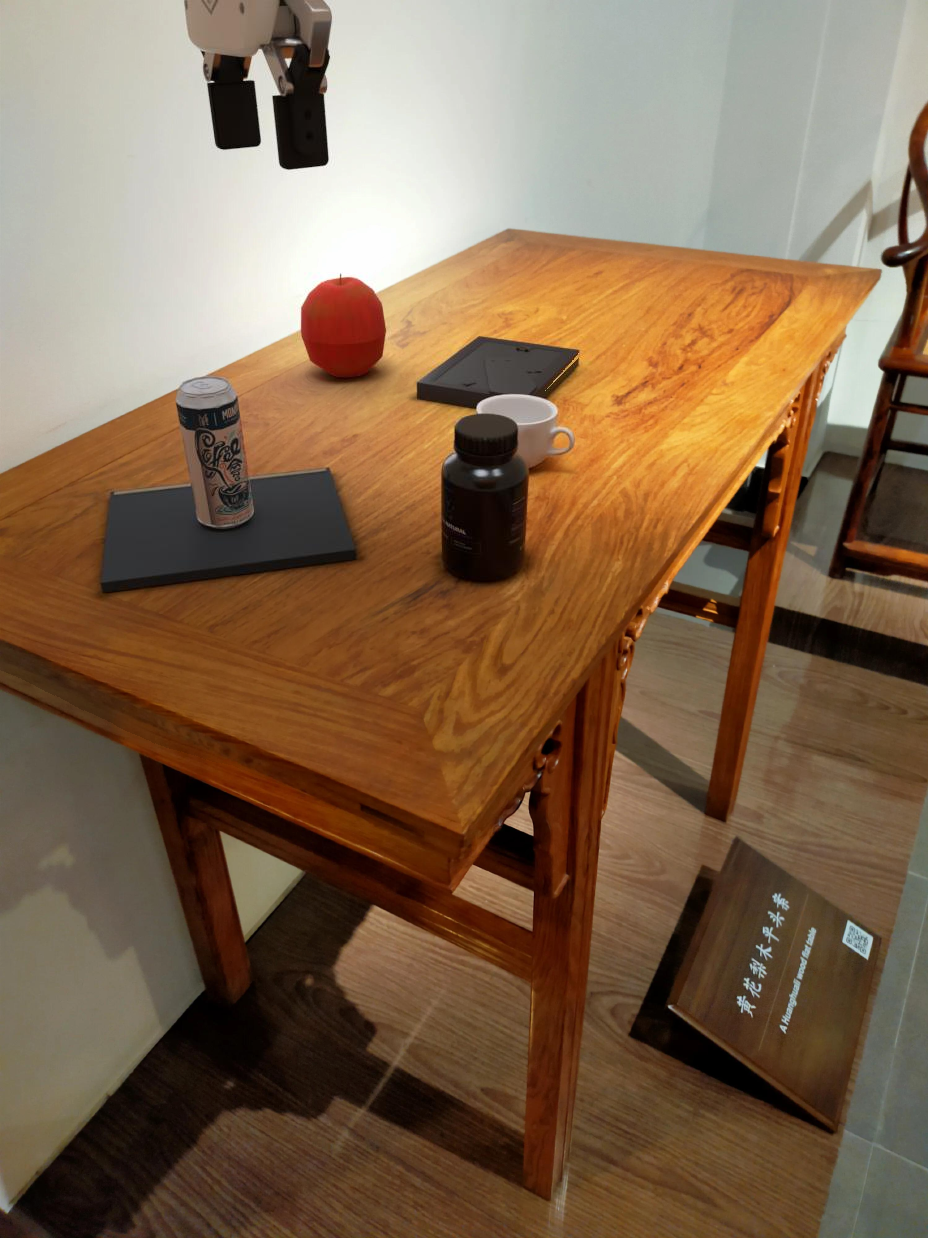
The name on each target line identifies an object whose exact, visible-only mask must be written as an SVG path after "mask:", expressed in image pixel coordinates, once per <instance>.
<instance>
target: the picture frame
mask: <svg viewBox="0 0 928 1238" xmlns="http://www.w3.org/2000/svg"><path fill="white" fill-rule="evenodd" d="M578 353H579V354H580V349H575V348H568V347H562V346H553V345H548V344H541V343H532V342H525V341H518V340H511V339H503V338H497V337H490V336H483V335H482V336H481V335H479V336H477V337H476V338H474V339H473V340H472V341H470V342H469V343H468V344H466V345H465V346H464V347H462V348H461V349H459V350H458V351H457V352H455V353H454V354H453V355H451V356H450V357H449V358H447V359H446V360H444V361H443V362H442V363H440V364H439V365H437V367H435V368H434V369H433V370H430V372H429V373H427V374H426V375H424V376H423V377H422V378H420V379H419V380H417V381H416V398H417V399H419V400H425V401H431V402H436V403H443V404H448V405H454V406H459V407H466V408H470V409H471V408H472V409H477V405H478V404H479V403H480V402H481V401H483V400H485V399H487V398H490V397H493V396H498V395H508V394H520V395H530V396H535V397H539V398H543V399H545V400H546V398H547V397H548V396H549V395H550V394H551V393H552V392H554V390H555V389H557V387H558V386H559V385H560V384H561V383H562V382H563V381H564V380H565V379H566V378H567V377H568V376H569V375H570V374H571V373H572V372H573V371H574V370H575V369H576V368H577V367H578V366H579V363H580V357H579V358H578V359H577V360H576V361H575V362H574V363H573V364H572V365H571V366H570V367H569V368H568V369H567V370H566V371H565V372H564V373H563V374H562V375H561V376H560V377H559V378H558V379H557V380H556V381H555V382H554V383H553V381H554V380H555V379H556V378H557V377H558V376H559V375H560V374H561V373H562V372H563V370H565V368H566V367H567V366H568V365H569V364H570V363H571V362H572V360H574V358H575V357H576V356H577V355H578ZM552 383H553V384H552ZM551 384H552V385H551ZM550 385H551V386H550ZM549 386H550V387H549ZM548 387H549V388H548ZM547 388H548V389H547ZM545 390H546V391H545Z"/></svg>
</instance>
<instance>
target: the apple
mask: <svg viewBox="0 0 928 1238" xmlns="http://www.w3.org/2000/svg"><path fill="white" fill-rule="evenodd" d="M300 335H301V338H302V342H303V345H304V347H305V350H306V354H307V356H308V358H309V362H311V363H312V364H314V365H315V366H317V367H318V368H320V369H322V370H323V371H325V372H326V373H328V374H329V375H331V376H333V377H337V378H345V379H346V378H356V377H361V376H363V375H366V374H367V373H368V372H369V371H371V369H372V368H373V367H374V366H375V365H376V364H377V363H378V362H379V361H380V360H381V359H382V358H383V355H384V348H385V342H386V335H387V327H386V320H385V315H384V307H383V302H382V301H381V299H380V298H379V296H378V295H377V293H376V292H375V290H374V289H373V288H372V287H370V286H369V285H368V284H366V282H364V281H362V280H361V279H359V278H357V277H352V276H343V277H342V273H340V274H339V277H336V278H331V279H326V280H324V281H321V282H320V283H319V284H317V285H316V286H314V288H313V289H312V290H310V291H309V292H308V293H307V295H306V298H305V299H304V302H303V303H302V305H301V307H300Z"/></svg>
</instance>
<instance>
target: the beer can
mask: <svg viewBox="0 0 928 1238" xmlns="http://www.w3.org/2000/svg"><path fill="white" fill-rule="evenodd" d="M236 391H237V390H236V389H234V386H232V384H231V382H230V381H229V380H227V378H225V377H221V376H214V375H208V376H207V375H206V376H197V377H193V378H189V379H187V380H184V381H183V382H181V384H180V385H179V386H178V390H177V394H176V397H175V405H176V410H177V411H176V412H177V416H178V420H179V428H180V433H181V437H182V443H183V448H184V454H185V459H186V464H187V465H186V466H187V471H188V475H189V481H190V482H189V483H191V487H192V493H193V498H194V503H195V509H196V514H197V518H198V520H199V521H200V522H201V523H202V524H204V525H206V526H210V527H213V528H217V529H227V528H233V527H236V526H239V525H241V524H242V523H244V522H245V521H247V520H249V519H250V518H251V517H252V515H253V512H254V508H253V501H252V494H251V487H250V480H249V476H250V473H249V466H248V461H247V454H246V447H245V440H244V434H243V433H244V432H243V425H242V418H241V412H240V411H241V410H240V405H239V398H238V393H237V392H236Z"/></svg>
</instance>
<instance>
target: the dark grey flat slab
mask: <svg viewBox="0 0 928 1238" xmlns="http://www.w3.org/2000/svg"><path fill="white" fill-rule="evenodd" d="M249 480H250V487H251V494H252V501H253V508H254V512H253V515H252V517H251V518H250V519H249V520H247V521H245V522H244V523H242V524H241V525H239V526H236V527H233V528H227V529H217V528H213V527H210V526H206V525H204V524H202V523H201V522H200V521H199V520H198V518H197V514H196V509H195V503H194V498H193V493H192V487H191V482H185V483H174V484H166V485H165V484H164V485H158V486H150V487H149V486H147V487H139V488H131V489H122V490H113V491H110V493H109V501H108V511H107V520H106V521H107V522H106V527H105V528H106V530H105V539H104V547H103V555H102V565H101V574H100V575H101V576H100V587H101V590H102V593H104V594H105V593H113V592H121V591H127V590H135V589H136V590H137V589H142V588H151V587H158V586H166V585H173V584H180V583H181V584H182V583H188V582H195V581H202V580H203V581H204V580H211V579H219V578H226V577H233V576H241V575H247V574H255V573H262V572H271V571H277V570H285V569H293V568H301V567H307V566H308V567H309V566H315V565H323V564H329V563H330V564H331V563H336V562H337V563H338V562H347V561H352V560H357V558H358V557H357V549H356V546H355V543H354V539H353V536H352V533H351V529H350V526H349V523H348V520H347V518H346V517H347V516H346V514H345V512H344V508H343V506H342V502H341V499H340V496H339V493H338V490H337V487H336V484H335V481H334V478H333V475H332V472H331V468H330V467H329V466H328V467H326V466H325V467H319V468H310V469H301V470H292V471H284V472H282V471H281V472H274V473H265V474H256V475H249Z"/></svg>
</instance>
